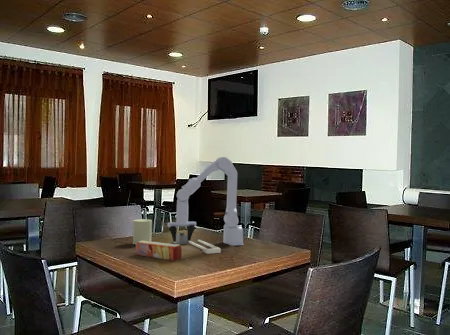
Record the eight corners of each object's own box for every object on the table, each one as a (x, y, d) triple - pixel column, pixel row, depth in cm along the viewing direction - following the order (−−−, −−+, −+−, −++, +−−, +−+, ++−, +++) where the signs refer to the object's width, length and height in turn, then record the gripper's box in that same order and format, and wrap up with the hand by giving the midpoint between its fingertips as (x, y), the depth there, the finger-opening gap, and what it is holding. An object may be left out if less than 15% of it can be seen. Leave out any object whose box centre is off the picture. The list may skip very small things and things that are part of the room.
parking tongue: (185, 243, 215) (185, 241, 215) (191, 245, 209) (191, 243, 209) (172, 243, 212) (172, 241, 212) (177, 246, 206) (177, 244, 206)
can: (147, 245, 206) (147, 220, 206) (129, 244, 208) (130, 220, 208) (154, 242, 215) (154, 218, 215) (137, 241, 217) (137, 217, 217)
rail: (198, 243, 215) (199, 239, 215) (220, 252, 194) (220, 248, 194) (186, 244, 212) (186, 240, 212) (207, 253, 190) (207, 249, 190)
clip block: (183, 241, 214) (183, 232, 214) (187, 243, 209) (187, 233, 209) (176, 242, 212) (176, 232, 212) (179, 243, 207) (180, 234, 207)
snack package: (134, 255, 184) (134, 240, 184) (144, 253, 190) (144, 238, 190) (173, 262, 173) (173, 246, 173) (182, 259, 178) (183, 243, 178)
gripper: (192, 212, 217) (192, 238, 217) (165, 212, 211) (164, 240, 211) (198, 213, 211) (197, 241, 211) (170, 214, 204) (169, 242, 205)
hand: (181, 241), depth 211 cm, fingers open, 7 cm apart
